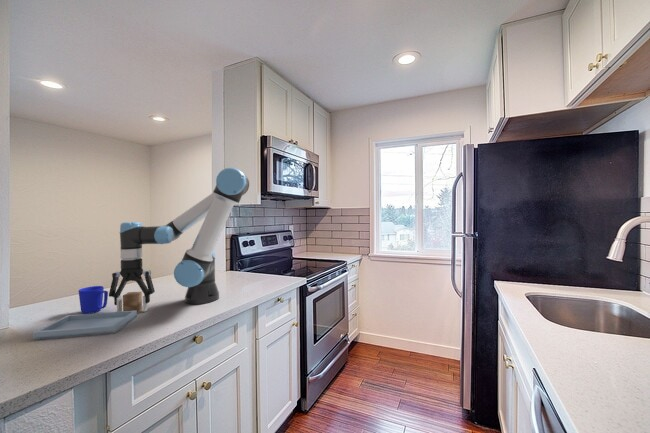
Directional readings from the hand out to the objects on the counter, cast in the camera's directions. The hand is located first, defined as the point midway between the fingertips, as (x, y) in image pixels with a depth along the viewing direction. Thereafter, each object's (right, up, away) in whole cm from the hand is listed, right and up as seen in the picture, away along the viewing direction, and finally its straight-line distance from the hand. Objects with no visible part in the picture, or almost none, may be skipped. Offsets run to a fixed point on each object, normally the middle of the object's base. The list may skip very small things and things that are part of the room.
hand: (132, 311), depth 118 cm
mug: (-16, -1, +1) cm, 16 cm away
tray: (-5, 0, -15) cm, 16 cm away
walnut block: (0, 0, 0) cm, 0 cm away
